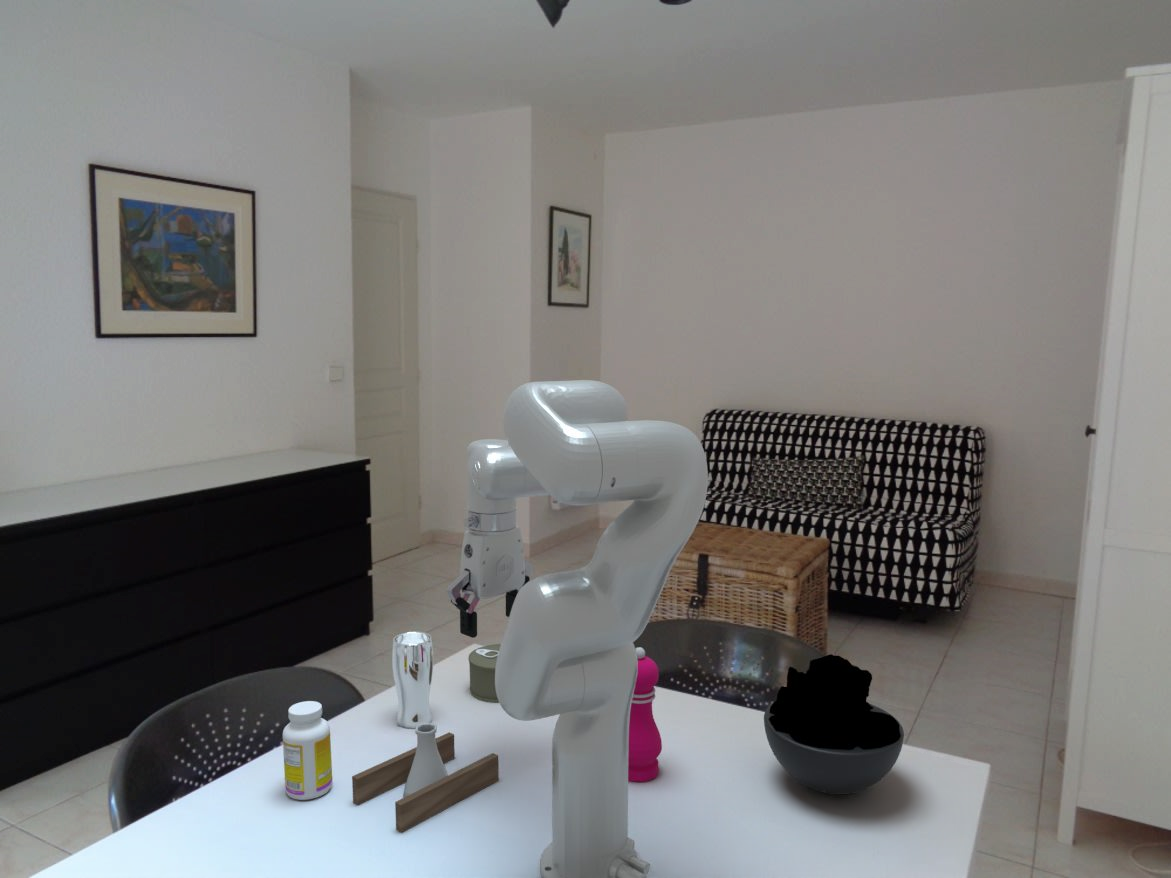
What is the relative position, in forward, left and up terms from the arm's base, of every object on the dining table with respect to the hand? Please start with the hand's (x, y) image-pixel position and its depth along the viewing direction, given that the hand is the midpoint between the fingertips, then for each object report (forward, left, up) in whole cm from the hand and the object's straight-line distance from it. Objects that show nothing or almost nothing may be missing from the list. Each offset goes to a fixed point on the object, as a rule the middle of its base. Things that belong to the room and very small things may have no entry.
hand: (491, 626), depth 133 cm
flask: (0, +13, -22) cm, 26 cm away
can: (+18, -18, -22) cm, 34 cm away
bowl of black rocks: (-44, -28, -22) cm, 57 cm away
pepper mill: (-20, -12, -22) cm, 32 cm away
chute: (0, +13, -22) cm, 25 cm away
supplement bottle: (+13, +25, -22) cm, 36 cm away
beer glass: (+20, 0, -22) cm, 30 cm away
